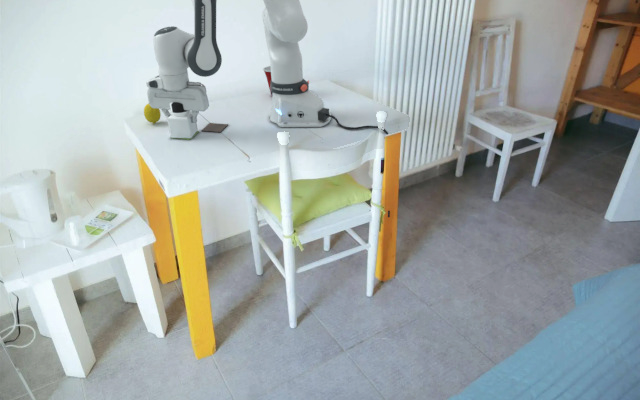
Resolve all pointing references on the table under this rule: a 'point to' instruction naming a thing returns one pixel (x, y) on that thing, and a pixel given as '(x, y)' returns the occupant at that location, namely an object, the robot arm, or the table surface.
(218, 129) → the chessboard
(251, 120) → the table surface
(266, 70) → the plastic cup
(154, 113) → the lemon
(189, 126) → the medicine bottle
